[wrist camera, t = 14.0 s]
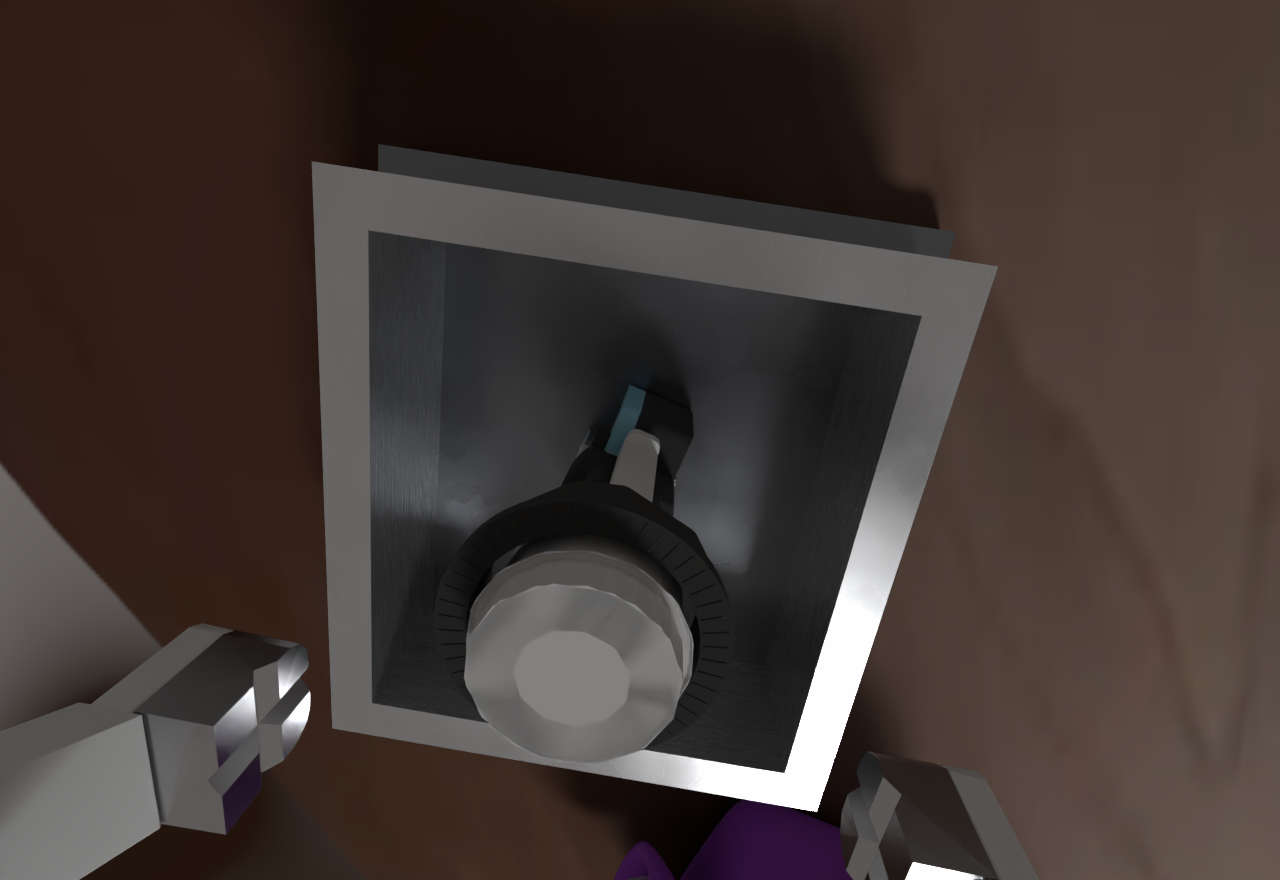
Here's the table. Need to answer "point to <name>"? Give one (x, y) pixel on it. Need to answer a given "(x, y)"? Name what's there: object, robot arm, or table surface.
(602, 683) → the push button
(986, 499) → the table surface
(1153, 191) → the table surface
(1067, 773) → the table surface
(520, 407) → the grey open box
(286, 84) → the table surface
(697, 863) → the toy camera
